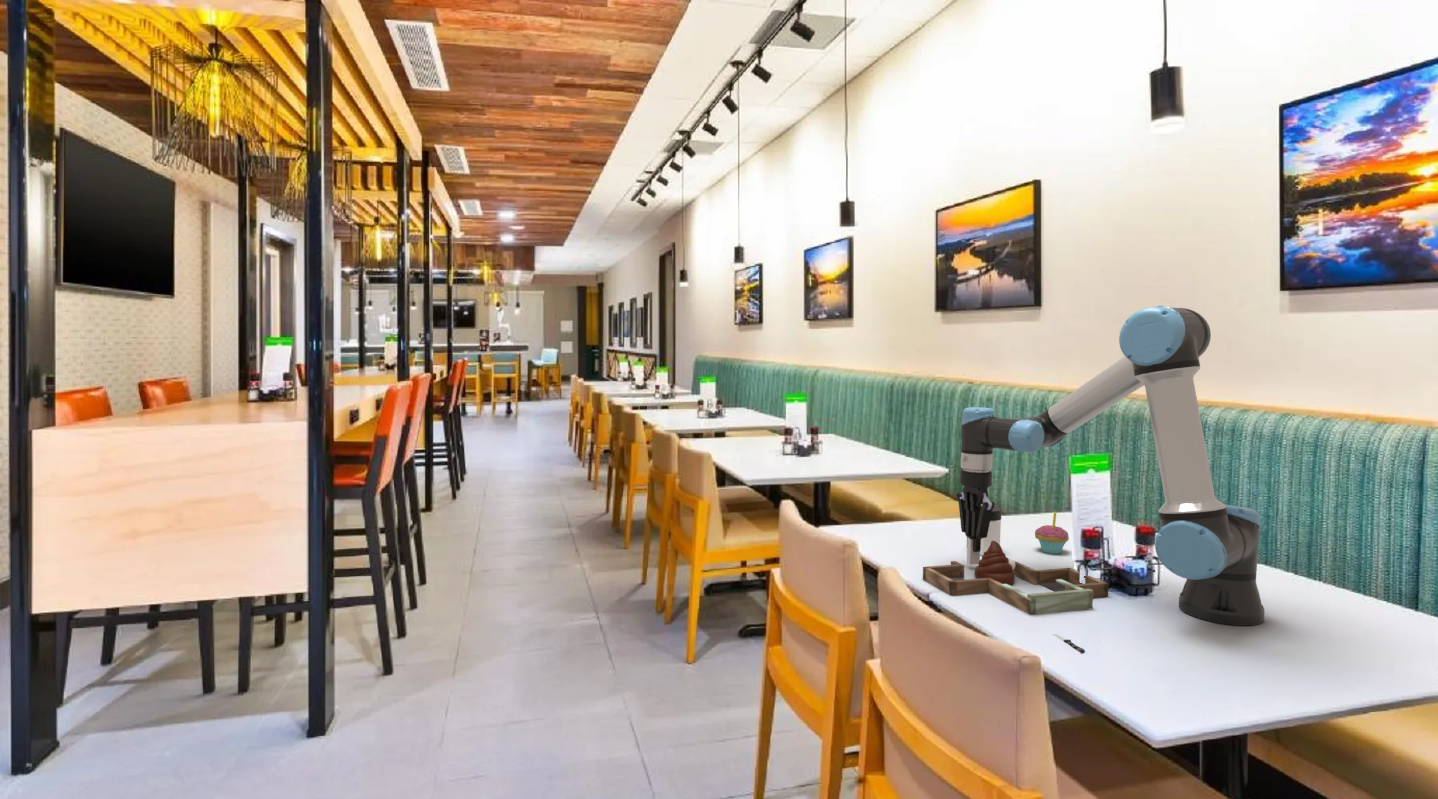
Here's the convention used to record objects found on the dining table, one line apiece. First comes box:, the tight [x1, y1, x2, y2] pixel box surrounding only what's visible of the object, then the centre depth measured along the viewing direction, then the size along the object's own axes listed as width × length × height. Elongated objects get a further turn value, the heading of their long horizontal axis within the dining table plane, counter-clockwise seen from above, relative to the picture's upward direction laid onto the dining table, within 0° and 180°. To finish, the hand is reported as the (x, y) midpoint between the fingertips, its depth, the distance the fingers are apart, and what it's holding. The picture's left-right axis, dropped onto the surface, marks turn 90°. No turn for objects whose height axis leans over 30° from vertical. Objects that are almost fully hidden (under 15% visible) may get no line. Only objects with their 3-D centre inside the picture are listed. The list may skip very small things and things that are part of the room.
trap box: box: [922, 557, 1110, 616], centre depth 178 cm, size 30×34×4 cm
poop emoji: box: [973, 541, 1016, 586], centre depth 185 cm, size 10×8×9 cm
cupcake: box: [1034, 509, 1070, 555], centre depth 211 cm, size 9×8×12 cm
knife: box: [1051, 633, 1086, 654], centre depth 151 cm, size 19×2×1 cm, turn 15°
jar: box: [980, 506, 1003, 557], centre depth 210 cm, size 9×8×12 cm
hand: (973, 563), depth 195 cm, fingers closed
